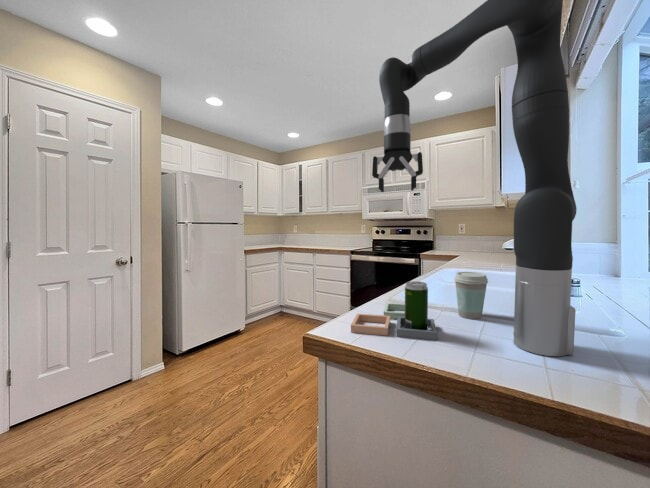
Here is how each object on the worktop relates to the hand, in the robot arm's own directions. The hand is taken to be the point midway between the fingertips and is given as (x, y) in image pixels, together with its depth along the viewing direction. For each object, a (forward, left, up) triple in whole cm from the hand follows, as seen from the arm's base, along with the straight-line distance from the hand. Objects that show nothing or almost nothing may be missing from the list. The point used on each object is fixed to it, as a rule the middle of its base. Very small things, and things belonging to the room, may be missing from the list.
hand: (397, 191), depth 82 cm
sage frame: (-1, +3, -36) cm, 36 cm away
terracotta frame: (+6, +15, -36) cm, 40 cm away
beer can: (-5, +15, -36) cm, 40 cm away
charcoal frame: (-5, +15, -36) cm, 39 cm away
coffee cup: (-20, 0, -36) cm, 41 cm away
